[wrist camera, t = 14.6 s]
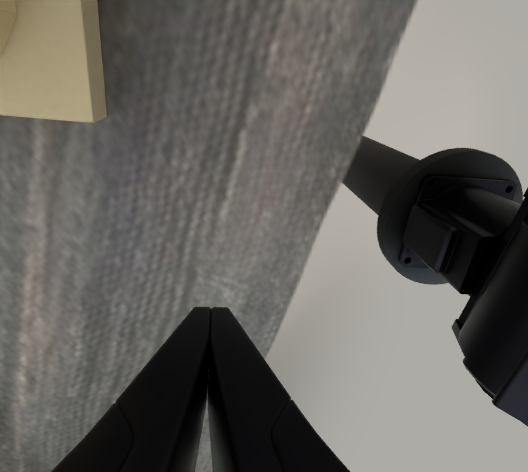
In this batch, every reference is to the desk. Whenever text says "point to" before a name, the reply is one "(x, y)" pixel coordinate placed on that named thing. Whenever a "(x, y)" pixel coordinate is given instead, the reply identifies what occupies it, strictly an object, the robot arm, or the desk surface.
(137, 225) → the desk surface
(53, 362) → the desk surface
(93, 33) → the button box
